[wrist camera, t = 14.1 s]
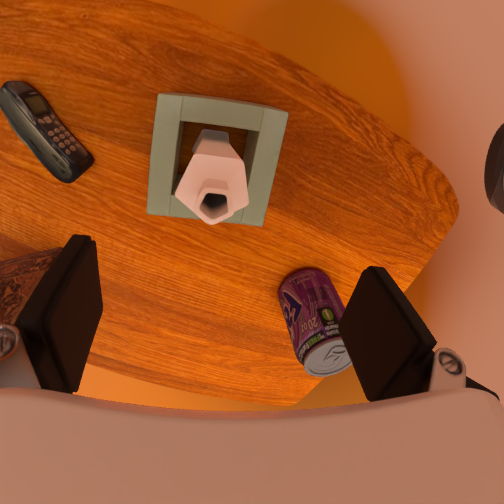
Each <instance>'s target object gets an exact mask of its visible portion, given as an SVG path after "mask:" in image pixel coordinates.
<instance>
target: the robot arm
mask: <svg viewBox="0 0 504 504" xmlns="http://www.w3.org/2000/svg"><path fill="white" fill-rule="evenodd" d="M503 188H504V172H503ZM102 311H103V302H102V294H101V287H100V279H99V270H98V260H97V249H96V242H95V241H92V240H91V237H90V236H87V235H77V234H74V235H73V236H72V237H71V238H70V240H69V241H68V242H67V244H66V245H65V246H64V248H63V249H62V251H61V252H60V253H59V255H58V256H57V258H56V259H55V261H54V262H53V264H52V265H51V267H50V268H49V270H48V271H46V273H45V274H44V275H43V277H42V278H41V280H40V281H39V283H38V284H37V286H36V287H35V289H34V291H33V292H32V294H31V296H30V297H29V299H28V300H27V302H26V304H25V306H24V307H23V309H22V311H21V312H20V314H19V316H18V318H17V319H16V321H15V323H14V325H13V324H10V323H7V322H0V504H504V407H503V406H502V404H501V403H500V401H499V397H498V395H497V394H496V393H494V392H493V391H491V390H489V389H487V388H486V387H484V386H482V385H480V384H479V383H477V382H475V381H473V380H472V379H470V378H468V377H467V376H466V366H465V364H464V361H463V360H462V358H461V357H460V356H459V355H458V354H457V353H456V352H454V351H453V350H451V349H448V348H439V349H438V350H436V351H435V353H434V352H433V350H432V349H433V348H434V346H435V345H436V343H437V342H436V340H435V338H434V337H433V335H432V334H431V332H430V331H429V329H428V328H427V326H426V325H425V323H424V322H423V321H422V319H421V318H420V316H419V315H418V313H417V312H416V311H415V309H414V308H413V306H412V305H411V303H410V302H409V301H408V299H407V298H406V296H405V295H404V293H403V292H402V291H401V289H400V288H399V287H398V285H397V284H396V283H395V281H394V280H393V278H392V277H391V276H390V274H389V273H388V272H387V271H386V269H385V268H384V267H377V266H369V267H368V268H367V269H365V270H364V271H363V272H362V274H361V276H360V278H359V281H358V283H357V285H356V287H355V289H354V292H353V294H352V296H351V298H350V300H349V302H348V304H347V306H346V309H345V311H344V313H343V315H342V317H341V319H340V321H339V323H338V331H339V334H340V336H341V338H342V340H343V343H344V345H345V347H346V350H347V352H348V355H349V357H350V359H351V362H352V364H353V366H354V369H355V371H356V374H357V376H358V378H359V381H360V383H361V386H362V388H363V391H364V393H365V396H366V398H367V400H369V401H370V402H368V403H361V404H353V405H345V406H336V407H327V408H316V409H303V410H287V411H255V412H254V411H253V412H252V411H248V412H246V411H244V412H243V411H240V412H239V411H203V410H186V409H185V410H184V409H172V408H161V407H152V406H144V405H136V404H129V403H120V402H114V401H108V400H101V399H95V398H90V397H84V396H79V395H74V394H72V393H73V392H77V391H78V389H79V385H80V381H81V378H82V374H83V371H84V367H85V364H86V361H87V357H88V354H89V351H90V348H91V345H92V342H93V339H94V336H95V333H96V330H97V327H98V324H99V321H100V318H101V315H102Z"/></svg>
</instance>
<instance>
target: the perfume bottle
mask: <svg viewBox="0 0 504 504" xmlns="http://www.w3.org/2000/svg"><path fill="white" fill-rule="evenodd" d="M192 152H193V153H194V155H193V157H192V159H191V161H190V163H189V165H188V167H187V169H186V171H185V173H184V175H183V177H182V179H181V181H180V183H179V185H178V187H177V189H176V192H175V196H176V198H177V199H179V200H180V201H181V202H182V203H183V204H184V205H186V206H187V207H188V208H189V209H190V210H191V211H193V212H194V213H195V214H196V215H197V216H198V217H200V218H201V219H202V220H203V221H204V222H206V223H208V224H210V225H214V224H216V223H219V222H221V221H223V220H225V219H227V218H229V217H231V216H232V215H233V214H234V212H235V211H237V210H239V209H241V208H244V207H246V206H247V205H248V204H249V198H248V190H247V182H246V174H245V166H244V162H243V161H242V159H241V158H240V157H239V155H238V154H237V153H236V152H235V150H234V149H233V148H232V146H231V145H230V143H229V136H228V133H227V132H223V131H216V130H209V129H203V130H202V131H201V133H200V135H199V136H198V138H197V140H196V142H195V144H194V146H193V148H192Z"/></svg>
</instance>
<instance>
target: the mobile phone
mask: <svg viewBox="0 0 504 504" xmlns="http://www.w3.org/2000/svg"><path fill="white" fill-rule="evenodd" d="M0 109H1V110H2V111H3V113H4V114H5V116H6V118H7V120H8V122H9V124H10V126H11V128H12V129H13V130H14V131H15V133H16V134H17V135H18V136H19V138H20V139H21V140H22V141H23V143H24V144H25V145H27V147H28V148H29V149H30V150H31V151H32V152H33V154H34V155H35V156H36V158H37V159H38V160H39V161H40V162H41V163H42V164H43V165H44V166H45V167H46V168H47V170H48V171H49V172H50V173H51V174H52V175H53V176H54V177H56V178H57V179H58V180H60V181H61V182H64V183H72V182H74V181H75V180H76V179H77V178H78V177H80V176H81V175H82V174H83V173H84V172H85V171H86V170H87V169H88V168H89V167H90V166H91V165H92V164H93V162H94V161H93V158H92V156H91V155H90V154H89V153H88V152H87V151H86V150H85V149H84V148H83V147H82V146H81V144H80V143H79V142H78V141H77V140H76V139H75V138H74V137H73V136H72V134H71V133H70V132H69V131H68V130H67V129H66V128H65V127H64V125H63V124H62V123H61V122H60V121H59V119H58V118H57V117H56V115H55V114H54V113H53V111H52V110H51V108H50V107H49V105H48V104H47V102H46V100H45V99H44V98H43V97H42V96H41V95H40V94H39V93H38V92H37V91H36V90H34V89H33V88H31V87H30V86H29V85H27V84H26V83H24V82H21V81H7V82H5V83H4V84H3V86H2V87H1V88H0Z"/></svg>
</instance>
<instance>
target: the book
mask: <svg viewBox="0 0 504 504" xmlns="http://www.w3.org/2000/svg"><path fill="white" fill-rule="evenodd" d="M62 249H63V248H62V247H59V248H54V249H50V250H46V251H42V252H38V253H34V254H30V255H26V256H22V257H18V258H15V259H11V260H7V261H3V262H0V322H7V323H10V324H13V325H14V323H15V321H16V319H17V318H18V316H19V314H20V312H21V311H22V309H23V307H24V306H25V304H26V302H27V300H28V299H29V297H30V296H31V294H32V292H33V291H34V289H35V287H36V286H37V284H38V283H39V281H40V280H41V278H42V277H43V275H44V274H45V273H46V271H48V270H49V268H50V267H51V265H52V264H53V262H54V261H55V259H56V258H57V256H58V255H59V253H60V252H61V251H62Z"/></svg>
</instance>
